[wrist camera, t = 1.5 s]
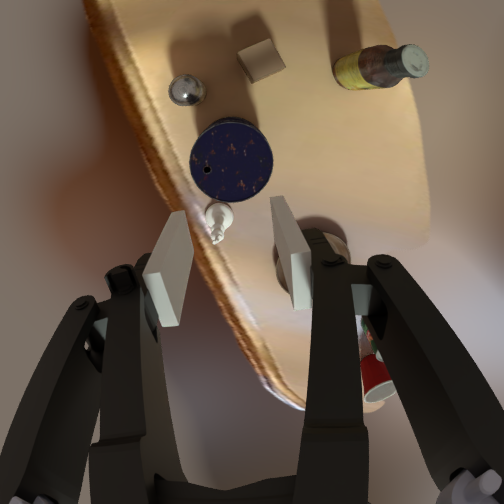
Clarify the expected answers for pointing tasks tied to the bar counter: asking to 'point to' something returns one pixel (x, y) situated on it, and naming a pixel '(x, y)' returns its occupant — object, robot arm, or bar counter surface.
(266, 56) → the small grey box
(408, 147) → the bar counter surface
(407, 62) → the sauce bottle
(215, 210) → the chess piece
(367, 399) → the plastic cup
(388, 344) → the robot arm
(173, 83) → the metal shaker
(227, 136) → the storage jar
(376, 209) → the bar counter surface
